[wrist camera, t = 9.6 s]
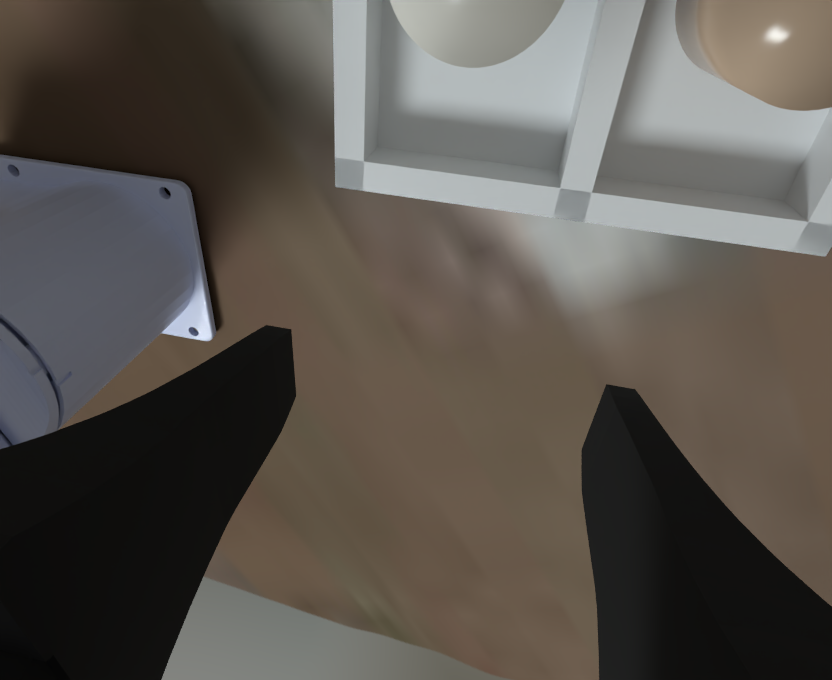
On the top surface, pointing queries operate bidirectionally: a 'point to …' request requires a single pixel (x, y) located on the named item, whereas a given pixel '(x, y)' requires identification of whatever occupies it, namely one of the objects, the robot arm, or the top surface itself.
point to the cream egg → (475, 27)
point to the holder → (580, 130)
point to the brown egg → (763, 47)
